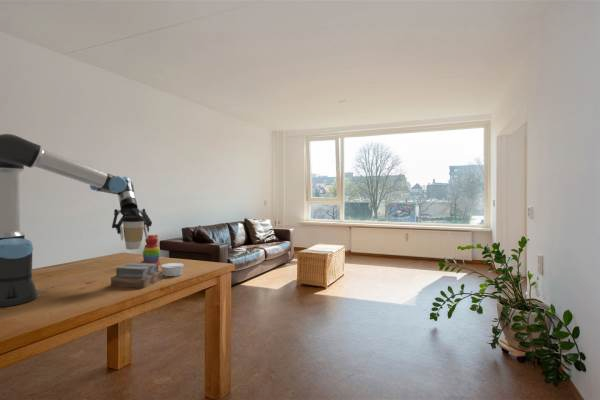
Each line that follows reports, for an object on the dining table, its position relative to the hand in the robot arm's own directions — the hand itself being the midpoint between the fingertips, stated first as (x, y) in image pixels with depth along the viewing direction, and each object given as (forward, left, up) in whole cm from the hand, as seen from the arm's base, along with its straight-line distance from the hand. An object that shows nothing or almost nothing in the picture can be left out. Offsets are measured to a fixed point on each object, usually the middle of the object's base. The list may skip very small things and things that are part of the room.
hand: (135, 237), depth 155 cm
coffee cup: (+2, +2, -6) cm, 6 cm away
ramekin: (+22, -7, -22) cm, 32 cm away
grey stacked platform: (+4, +1, -22) cm, 22 cm away
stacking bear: (+42, +17, -22) cm, 50 cm away
